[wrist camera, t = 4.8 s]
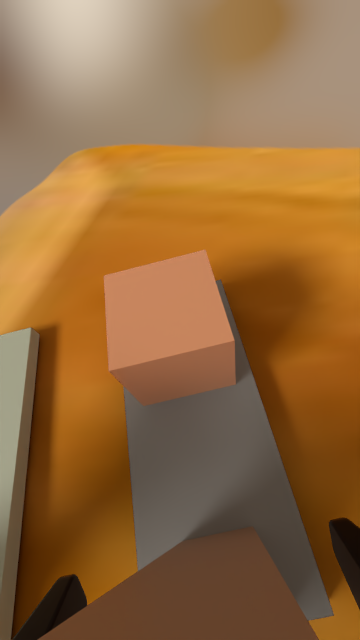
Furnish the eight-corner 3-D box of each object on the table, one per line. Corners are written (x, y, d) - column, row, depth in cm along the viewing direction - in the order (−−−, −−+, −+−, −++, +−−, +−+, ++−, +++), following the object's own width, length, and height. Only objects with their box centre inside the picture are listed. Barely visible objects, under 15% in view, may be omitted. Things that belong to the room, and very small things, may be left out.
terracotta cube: (235, 384, 15) (234, 340, 11) (143, 406, 16) (108, 370, 12) (213, 308, 18) (205, 249, 14) (134, 327, 18) (104, 275, 14)
